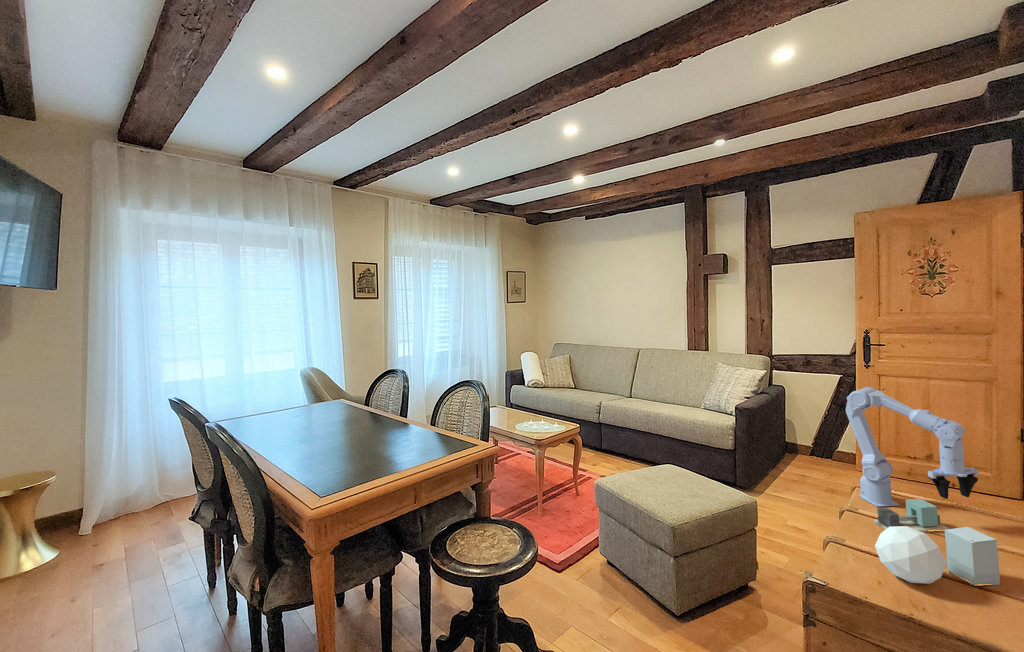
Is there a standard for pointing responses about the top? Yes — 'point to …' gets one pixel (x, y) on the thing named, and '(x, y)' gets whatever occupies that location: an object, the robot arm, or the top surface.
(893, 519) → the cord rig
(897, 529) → the geometric sphere
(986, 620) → the top surface
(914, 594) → the top surface
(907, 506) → the sleeve
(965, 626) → the top surface
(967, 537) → the supplement box
